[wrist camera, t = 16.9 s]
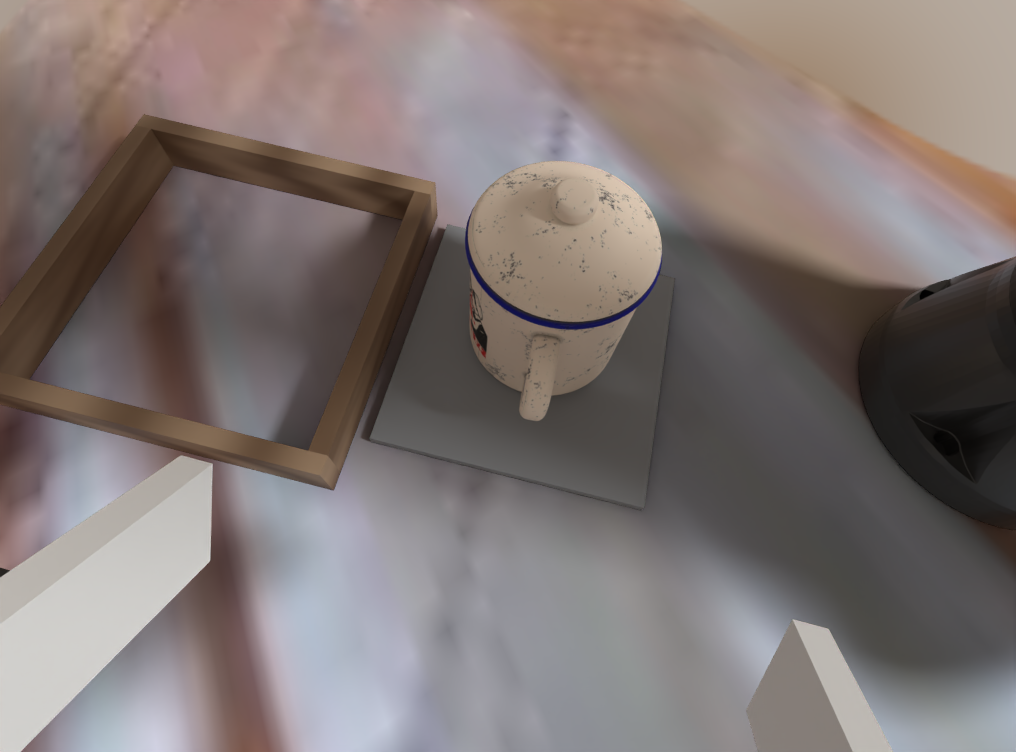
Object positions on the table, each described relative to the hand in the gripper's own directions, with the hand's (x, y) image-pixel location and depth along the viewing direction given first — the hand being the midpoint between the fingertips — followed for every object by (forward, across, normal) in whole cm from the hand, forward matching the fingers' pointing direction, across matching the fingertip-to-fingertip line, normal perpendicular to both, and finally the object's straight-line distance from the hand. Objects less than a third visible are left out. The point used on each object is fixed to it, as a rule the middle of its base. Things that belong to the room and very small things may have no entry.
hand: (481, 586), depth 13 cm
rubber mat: (+22, -1, -2) cm, 22 cm away
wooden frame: (+21, -18, -2) cm, 28 cm away
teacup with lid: (+21, 0, -1) cm, 21 cm away
